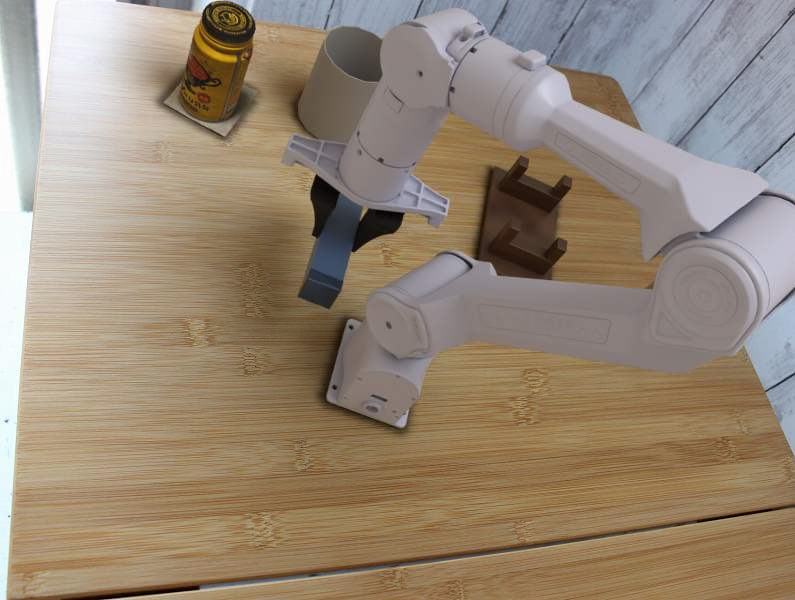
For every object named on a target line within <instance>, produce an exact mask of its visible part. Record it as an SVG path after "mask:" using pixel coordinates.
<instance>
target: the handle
mask: <svg viewBox="0 0 795 600" xmlns="http://www.w3.org/2000/svg"><path fill="white" fill-rule="evenodd" d="M363 210H364V207H363V206H360V205H358V204H356V203H354V202H353V201H351V200H350V199H348V198H347V197H346V196H345V195H343V194H342V193H340V194H339V198H338V201H337V204H336V208H335V209H334V211H333V212H332V213H331V215H330V216H329V218H328V219H327V221H326V223H325V225H324V228H323V231H322V232H321V234H320V236H319V237H318V238H316V237H315V240H314V243H313V246H312V249H311V253H310V256H309V259H308V262H307V265H306V269H305V271H304V275H303V278H302V281H301V285H300V287H299V289H298V293H297V296H296V297H297V298H298V299H301V300H303V301H306V302H308V303H311V304H314V305H317V306H319V307H322V308H325V309H327V310H330V309H331V308H332V306H333V304H334V303H335V302H336V300H337V299H338V297H339V295H340V294H341V292H342V290H343V285H344V282H345V281H344V280H345V276H346V272H347V270H348V265H349V261H350V258H351V254H352V252H351V251H352V247H353V244H354V240H355V236H356V233H357V229H358V225H359V222H360V220H361V219H362V214H363Z"/></svg>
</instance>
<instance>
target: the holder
mask: <svg viewBox="0 0 795 600" xmlns="http://www.w3.org/2000/svg"><path fill="white" fill-rule="evenodd" d="M529 163H530V158H529V157H526V156H524V155H522V154H521V155H519V157H517V159H516V160H515V162H514V163H513V164H512V166H511V168H509V169H508V170H505V169H503V168H502V167H498V166H497V165H494V166H493V168H492V170H491V177H490V182H489V188H488V193H487V200H486V205H485V212H484V218H483V224H482V230H481V235H480V242H479V247H478V253H477V259H476V260H477V261H482V262H490V263H491V264H492V265H493V267H494V269H495V271H496V273H497V276H507V277H518V278H529V279H540V280H552V274H553V266H555V264H556V263H557V262H558V261H559V260H560V259H561V258H562V257H563V256H564V255H565V254H566V253H567V250H568V240H566V239H564V238H562V237H557V238H556V232H557V220H558V213H559V212H558V211H559V203H560V202H561V201H562V200H563V198H565V196H567V194H568V193H569V192H570V190H572V188H573V178H572V177H570V176H568V175H566V174H563V175H562V176H561V178H560V179H559V180H558V181H557V182H556V184H554V186H552V185H550V184H549V183H546V182H542V180H538V179H536V178H535V177H532V176H530V175H528V174H526V171H528V169H529Z"/></svg>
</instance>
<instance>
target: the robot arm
mask: <svg viewBox="0 0 795 600" xmlns="http://www.w3.org/2000/svg"><path fill="white" fill-rule="evenodd" d="M382 40H383V42H382V45H381V50H380V63H381V69H382V73H383V75H382V77H381V79H380V81H379V83H378V85H377V87H376V89H375V91H374V93H373V95H372V97H371V99H370V101H369V103H368V105H367V107H366V109H365V111H364V113H363V115H362V117H361V119H360V121H359V123H358V125H357V127H356V129H355V131H354V133H353V135H352V137H351V139H350V141H349V142H348V144H345V143H338V142H332V141H325V140H319V139H318V138H312V137H306V136H304V135H301V134H299V133H296V132H291V135H290V137H289V139H288V142H287V143H286V146H285V149H284V152H283V154H282V157H281V160H280V164H283V165H284V166H287V167H291V168H292V167H294V166H295V164H297V165H300V166H301V167H304V168H306V169H309V170H310V171H311V172H313V173H314V174H315V175H314V178H313V181H312V184H311V187H310V192H309V196H310V197H309V199H310V202H311V205H312V208H313V215H314V216H313V217H314V222H313V228H312V231H311V236H312V237H314V238H315V239H316V238H318V237H319V236H320V234H321V232H322V231H323V228H324V225H325V223H326V221H327V219H328V218H329V216H330V215H331V213H332V212H333V211H334V209H335V208H336V204H337V201H338V198H339V194H340V193H342V194H343V195H345V196H346V197H347V198H348V199H350V200H351V201H353V202H354V203H356V204H358V205H360V206H363V208H366V209H367V210H366V212H365V213H364V214H363V216H361V218H360V222H359V225H358V229H357V233H356V236H355V240H354V244H353V247H352V251H351V253H356V252H357V251H358V250H360V249H361V248H362V247H363V246H365V245H366V244H368V243H369V242H371V241H373V240H375V239H377V238H379V237H383V236H386V235H394V234H395V233H396V232H397V231H399V229H400V228H401V227H402V224H403V220H404V217H405V214H413V215H419V216H421V217H423V218H426V222H427V225H429V226H430V227H433V228H436V229H440V228H439V227H440V226H441V225H442V224H443V222H444V221H445V220H446V218H447V217H448V213H449V208H450V202H451V199H450V198H447V197H446V196H444V195H442V194H440V193H438V192H437V191H435V190H434V189H432V188H431V187H430V186H428V185H427V184H426V183H424V182H423V181H422V180H420V179H419V178H418V177H416V176H415V175H414V174H413V172H414V170H416V168H417V166H418V164H419V162H420V161H421V160H422V158H423V156H424V155H425V153H426V151H427V150H428V148H429V147H430V145H431V144H432V142H433V140H434V139H435V137H436V136H437V134H438V132H439V131H440V129H441V128H442V126H443V124H444V123H445V121H446V120H447V117H448V116H449V115H450V112H451V113H452V114H454V115H456V116H458V118H460V119H463V120H464V121H466V122H467V123H469V124H470V125H472V126H474V127H475V128H477V129H479V130H481V131H482V132H485V133H486V134H487V135H490V136H491V137H492V138H495V139H496V140H498V141H500V143H503V144H504V145H506V146H508V147H510V148H511V149H513V150H514V151H517V152H519V153H528V152H533V151H535V150H537V149H539V148H546V149H547V150H549V151H550V152H552V153H554V154H555V155H556V156H558V157H560V159H562V160H563V161H565V162H567V163H568V164H569V165H571V166H572V167H574V168H575V169H577V170H578V171H580V172H581V173H582V174H584V175H585V176H587V177H589V178H590V179H591V180H593V181H594V182H596V183H597V184H598V185H600V186H602V188H605V189H606V190H607V191H609V192H610V193H612V194H613V195H614V196H616V197H617V198H619V199H621V200H622V201H624V202H625V203H627V204H628V205H630V206H631V207H633V208H634V209H635V210H636V211H637V212H638V215H639V229H640V244H641V256H642V259H643V261H644V262H645V264H648V263H650V262H651V261H652V260H653V259H655V258H656V257H657V256H658V255H660V254H661V255H662V256H663V258H662V259H661V261H660V263H659V266H658V269H657V272H656V275H655V278H654V281H655V282H654V281H653V282H654V287H653V290H651V289H644V288H639V287H627V286H617V285H607V284H606V285H605V284H594V283H584V282H575V281H574V282H573V281H562V280H552V279H551V280H540V279H529V278H518V277H507V276H497V273H496V271H495V269H494V267H493V265H492V264H491V263H490V262H482V261H477V259H474V258H473V257H471V256H469V255H468V254H466V253H465V252H463V251H461V250H458V249H451V248H447V249H444V250H442V251H439V252H438V253H437V254H436V255H435V256H434V257H433V258H431V259H429V260H428V261H426V262H424V263H422V264H420V265H419V266H417V267H415V268H414V269H412V270H410V271H409V272H407V273H405V274H403V275H401V276H400V277H398V278H396V279H394V280H393V281H391V282H389V283H387V284H386V285H383V286H380V287H376V288H375V289H373V290H371V291H370V292H369V294H368V295H367V297H366V299H365V305H364V312H365V317H364V318H363V320H362V321H359V320H357V319H354V318H349V319H347V321H346V323H345V327H344V330H343V334H342V338H341V341H340V345H339V348H338V352H337V356H336V360H335V363H334V367H333V370H332V373H331V378H330V381H329V385H328V389H327V392H326V396H325V399H326V401H327V402H328V403H330V404H333V405H336V406H339V407H342V408H343V409H347V410H350V411H352V412H355V413H358V414H361V415H363V416H366V417H368V418H371V419H374V420H376V421H379V422H382V423H384V424H387V425H390V426H393V427H396V428H397V429H403V428H405V426H406V425H407V421H408V417H409V416H408V415H409V412H410V408H411V407H412V406H413V405H414V404H415V403H416V402H417V401H418V400H419V399H420V395H421V393H422V388H423V383H424V380H425V376H426V373H427V370H428V368H429V366H430V365H431V363H432V362H433V360H434V359H435V358H436V356H437V355H438V354H439V353H440V352H444V351H447V350H450V349H453V348H457V347H460V346H463V345H466V344H469V343H473V342H479V343H485V344H491V345H498V346H504V347H510V348H516V349H520V350H521V349H522V350H527V351H532V352H533V351H534V352H540V353H545V354H551V355H557V356H564V357H570V358H574V359H575V358H576V359H580V360H587V361H594V362H600V363H605V364H612V365H616V366H623V367H629V368H635V369H641V370H647V371H653V372H658V373H665V374H670V375H682V374H685V373H688V372H690V371H693V370H695V369H697V368H699V367H701V366H703V365H705V364H707V363H710V362H712V361H713V360H716V359H719V358H721V357H728V358H732V357H734V356H735V355H737V353H738V352H740V350H741V349H742V348H743V347H744V345H745V344H746V343H747V341H748V340H749V339H750V338H751V337H752V336H753V335H754V334H755V333H756V332H757V331H758V330H759V329H760V328H761V327H762V326H763V325H764V324H765V323H766V322H767V321H768V320H769V319H770V318H771V317H772V316H773V315H774V314H775V313H776V312H777V311H779V309H781V308H782V307H783V306H784V305H785V304H786V303H788V302H790V300H791V299H792V298H793V297H794V296H795V195H794V194H792V193H790V192H787V191H784V190H780V189H773V188H772V189H771V188H769V187H771V184H770V182H768V181H767V180H765V179H764V178H763V177H761V176H760V175H758V174H757V173H755V172H754V171H750V170H747V169H743V168H738V167H735V166H730V165H726V164H722V163H718V162H714V161H711V160H708V159H705V158H701V157H699V156H697V155H695V154H692V153H691V152H688V151H685V150H684V149H681V148H679V147H677V146H675V145H673V144H670V143H669V142H666V141H664V140H661V139H659V138H657V137H655V136H653V135H651V134H649V133H646V132H644V131H642V130H640V129H638V128H635V127H633V126H631V125H628V124H626V123H625V122H623V121H620V120H618V119H615V118H613V117H611V116H610V115H606V114H605V113H602V112H601V111H598V110H595V109H594V108H592V107H589V106H587V105H584V104H583V103H580V102H578V101H576V100H574V99H573V95H572V91H571V87H570V83H569V80H568V78H567V77H566V75H565V74H564V73H562V72H560V71H559V70H556V69H555V68H553V67H551V66H549V65H547V64H546V62H547V59H548V58H547V55H545V54H543V53H541V52H539V51H537V50H535V49H533V48H532V49H530V50H527V51H524V52H522V51H521V50H519V49H517V48H515V47H513V46H511V45H510V44H508V43H505V42H503V41H501V40H500V39H498V38H496V37H494V36H492V35H490V34H488V31H487V29H486V28H485V26H484V24H483V23H482V22H481V21H480V20H479V19H478V17H476V16H474V15H473V14H472V13H471V12H469V11H468V10H466V9H463V8H460V7H451V8H446V9H443V10H440V11H436V12H433V13H430V14H426V15H423V16H419V17H416V18H414V19H410V20H407V21H404V22H401V23H400V24H397V25H395V26H393V27H391V29H389V30H388V31H387V33H386V34H385V35H384V37H383V38H382Z"/></svg>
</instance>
